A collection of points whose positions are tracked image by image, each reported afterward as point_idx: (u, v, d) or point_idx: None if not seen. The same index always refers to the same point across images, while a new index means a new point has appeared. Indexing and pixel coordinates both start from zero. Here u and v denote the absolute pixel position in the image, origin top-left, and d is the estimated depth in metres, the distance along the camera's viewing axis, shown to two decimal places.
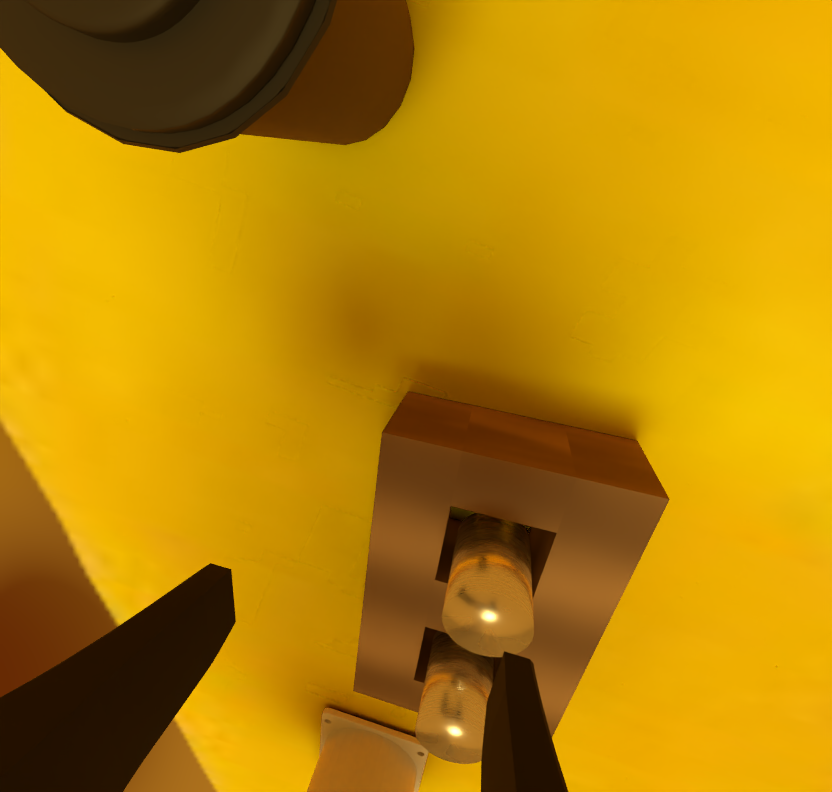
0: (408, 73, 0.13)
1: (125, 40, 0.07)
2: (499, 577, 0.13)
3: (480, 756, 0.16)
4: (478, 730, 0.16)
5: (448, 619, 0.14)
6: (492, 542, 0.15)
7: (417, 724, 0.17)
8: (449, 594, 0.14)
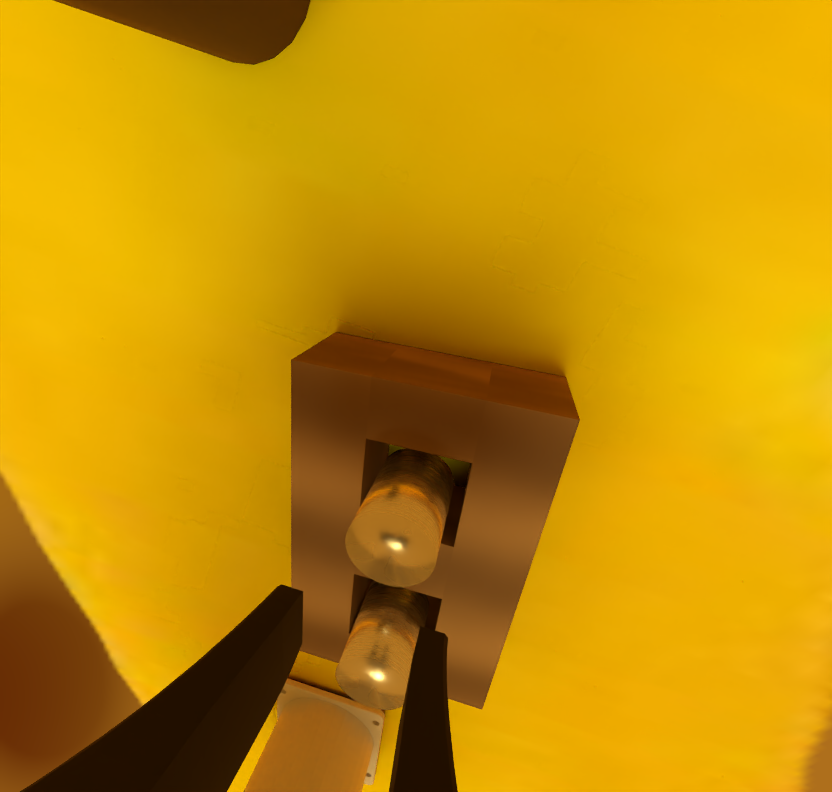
0: None
1: None
2: (403, 501, 0.13)
3: (401, 700, 0.16)
4: (396, 671, 0.15)
5: (352, 546, 0.13)
6: (404, 472, 0.14)
7: (337, 668, 0.16)
8: (353, 520, 0.13)
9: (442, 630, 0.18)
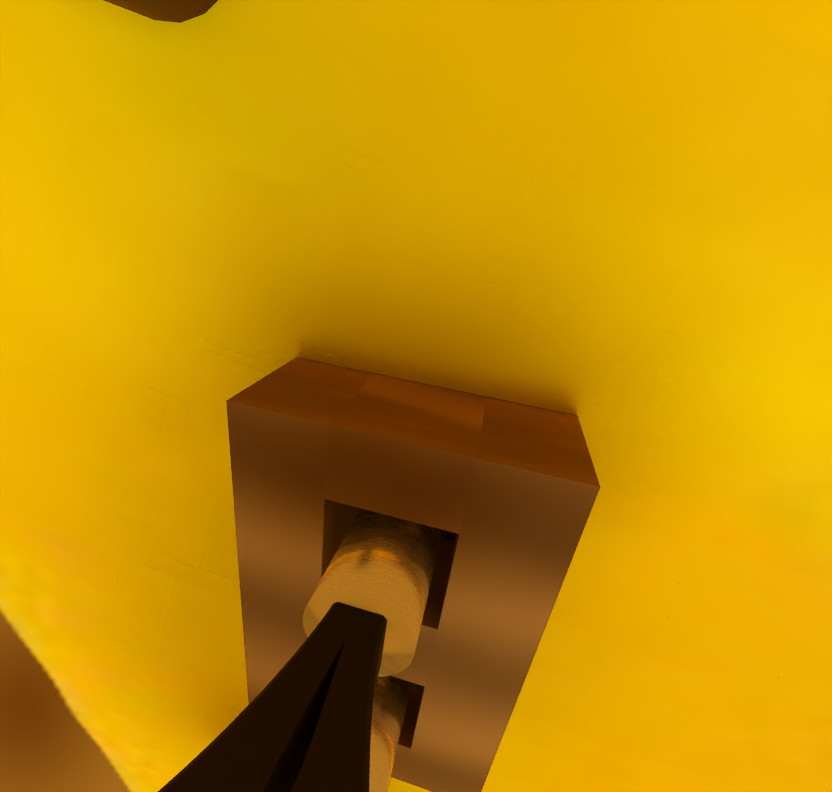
0: None
1: None
2: (374, 574, 0.10)
3: None
4: None
5: (311, 628, 0.11)
6: (379, 529, 0.12)
7: None
8: (312, 595, 0.11)
9: (426, 720, 0.15)
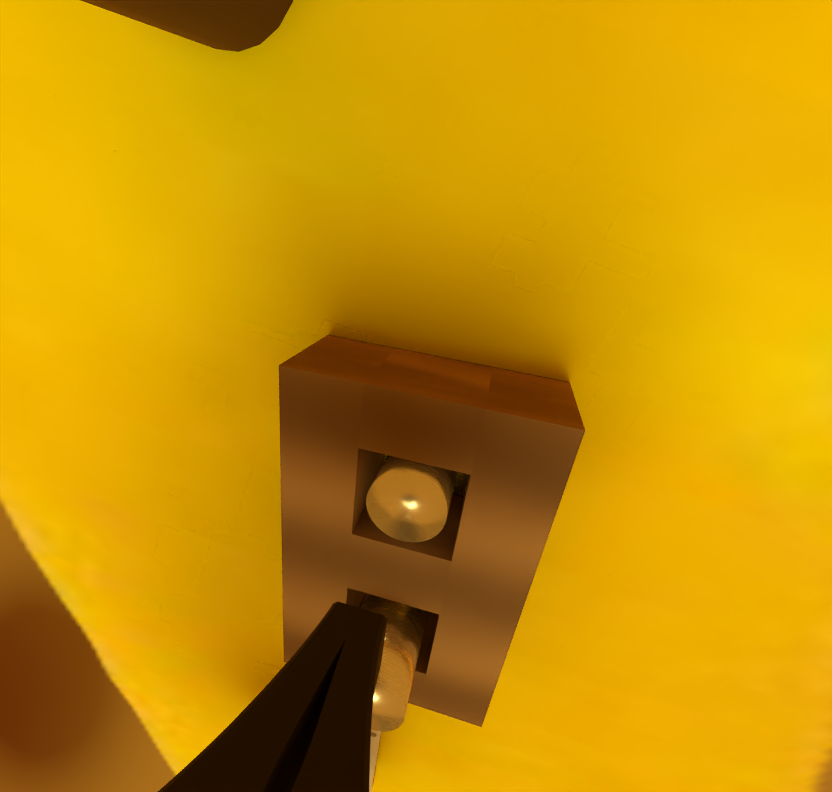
0: None
1: None
2: (417, 465, 0.15)
3: (396, 722, 0.15)
4: (391, 693, 0.15)
5: (372, 506, 0.15)
6: None
7: None
8: None
9: (439, 646, 0.17)
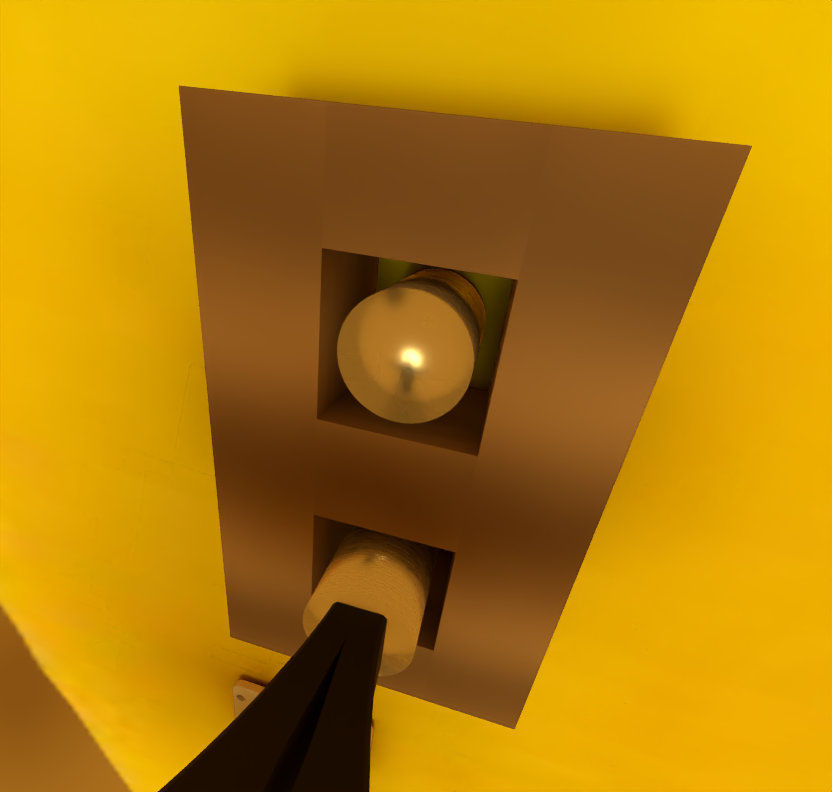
0: None
1: None
2: (422, 286, 0.09)
3: (403, 661, 0.10)
4: (395, 613, 0.10)
5: (347, 360, 0.09)
6: (422, 276, 0.10)
7: (304, 612, 0.10)
8: None
9: (455, 605, 0.11)
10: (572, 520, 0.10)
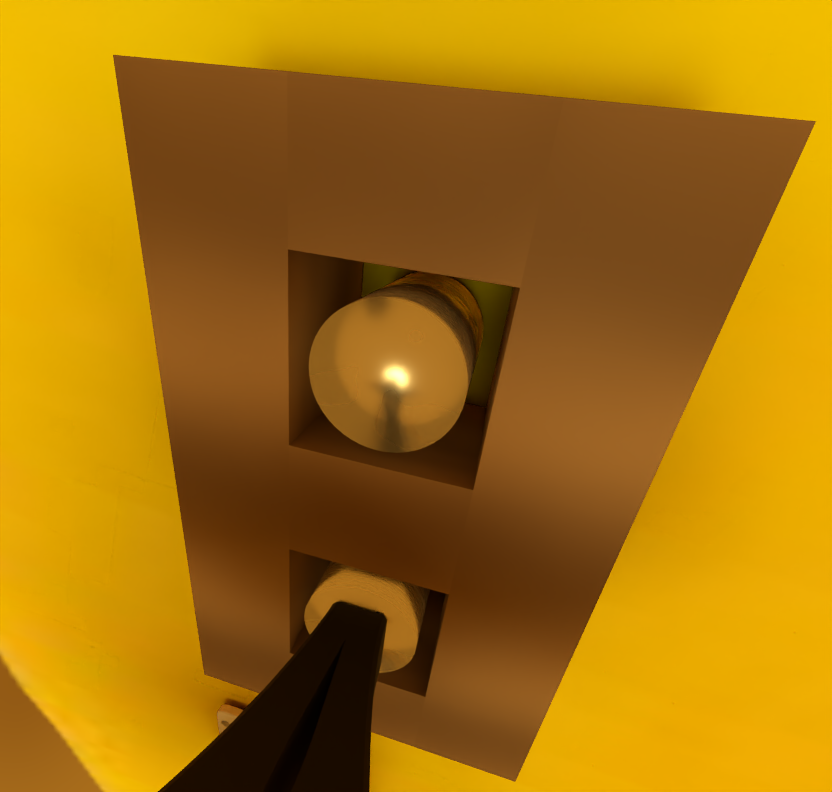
0: None
1: None
2: (408, 293, 0.07)
3: (404, 657, 0.10)
4: (397, 610, 0.10)
5: (320, 379, 0.08)
6: (410, 280, 0.09)
7: (306, 608, 0.11)
8: None
9: (449, 651, 0.10)
10: (582, 563, 0.08)
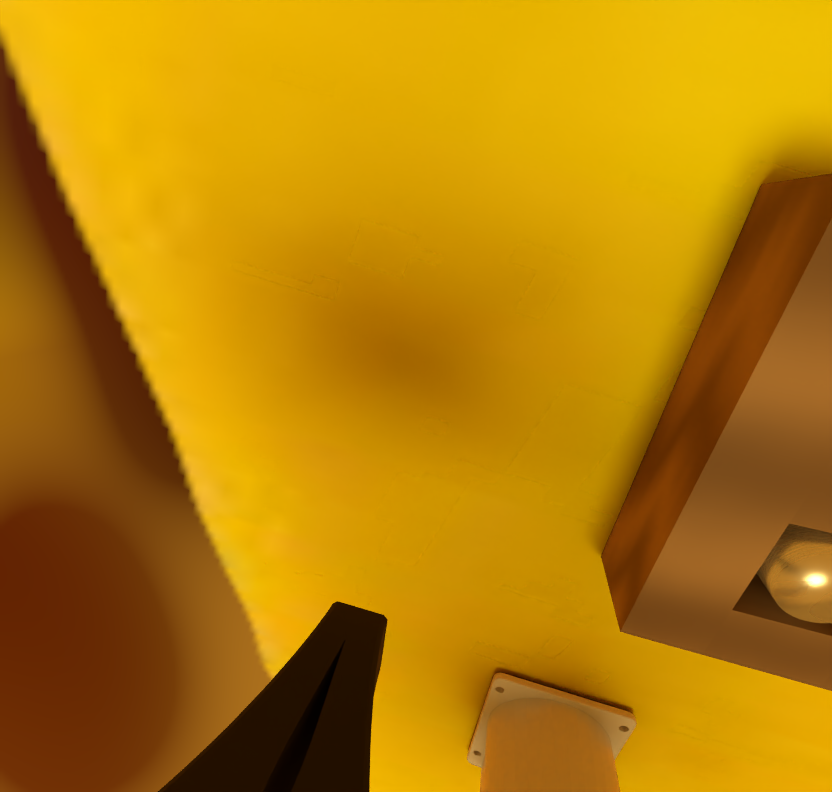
0: None
1: None
2: None
3: None
4: None
5: None
6: None
7: (783, 571, 0.13)
8: None
9: None
10: None
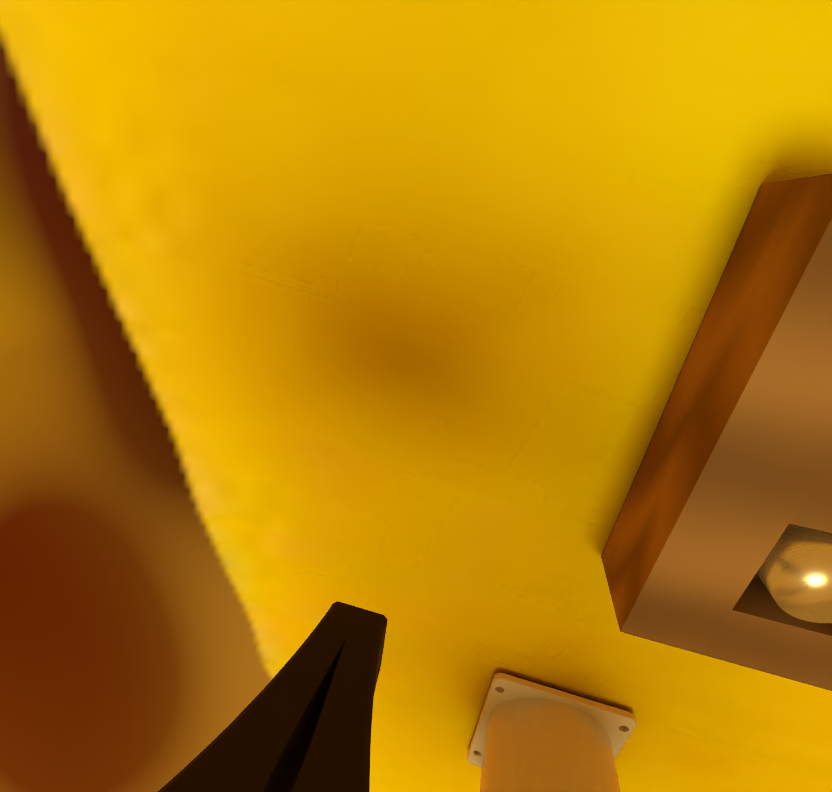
0: None
1: None
2: None
3: None
4: None
5: None
6: None
7: (783, 571, 0.13)
8: None
9: None
10: None
